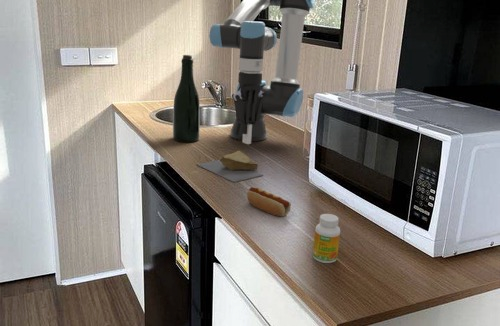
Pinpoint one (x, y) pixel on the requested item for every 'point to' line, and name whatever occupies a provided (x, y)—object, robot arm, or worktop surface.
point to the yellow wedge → (238, 161)
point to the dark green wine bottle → (186, 105)
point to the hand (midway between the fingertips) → (246, 142)
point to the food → (268, 202)
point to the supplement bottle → (326, 239)
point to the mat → (229, 171)
